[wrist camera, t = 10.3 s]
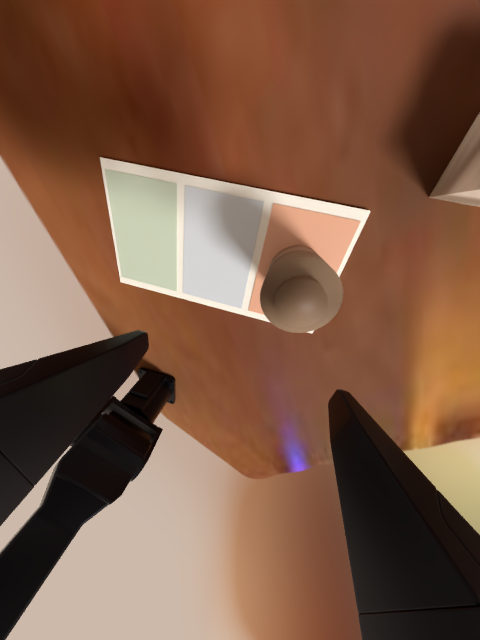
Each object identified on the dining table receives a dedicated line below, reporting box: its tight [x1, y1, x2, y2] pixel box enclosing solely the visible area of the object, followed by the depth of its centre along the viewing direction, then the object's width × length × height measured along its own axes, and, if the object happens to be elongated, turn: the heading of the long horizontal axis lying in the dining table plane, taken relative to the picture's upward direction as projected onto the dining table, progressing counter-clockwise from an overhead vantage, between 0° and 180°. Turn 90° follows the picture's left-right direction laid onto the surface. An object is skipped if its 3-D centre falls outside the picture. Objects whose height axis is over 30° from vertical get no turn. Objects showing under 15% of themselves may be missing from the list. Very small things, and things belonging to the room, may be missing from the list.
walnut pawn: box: [260, 245, 343, 333], centre depth 14 cm, size 5×5×8 cm
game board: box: [100, 157, 370, 333], centre depth 18 cm, size 12×24×1 cm, turn 80°
